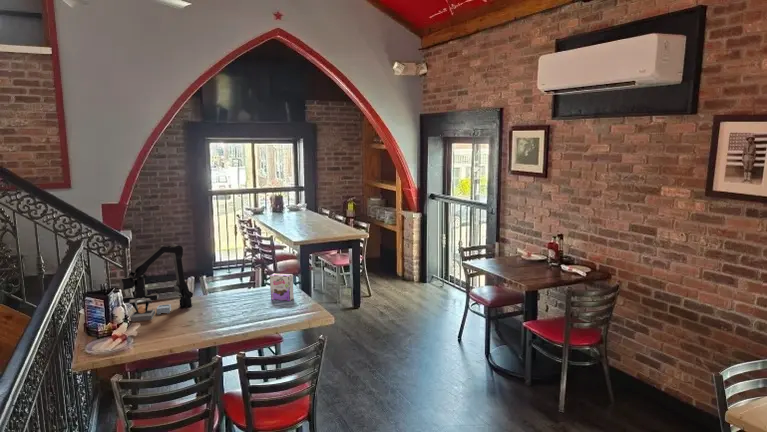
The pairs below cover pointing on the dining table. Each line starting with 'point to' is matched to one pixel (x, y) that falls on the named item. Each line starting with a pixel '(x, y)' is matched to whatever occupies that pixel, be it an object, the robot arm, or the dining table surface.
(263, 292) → the dining table surface
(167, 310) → the light blue storage bin
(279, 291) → the candy box
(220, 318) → the dining table surface
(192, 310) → the dining table surface
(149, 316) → the tray
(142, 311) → the ball
